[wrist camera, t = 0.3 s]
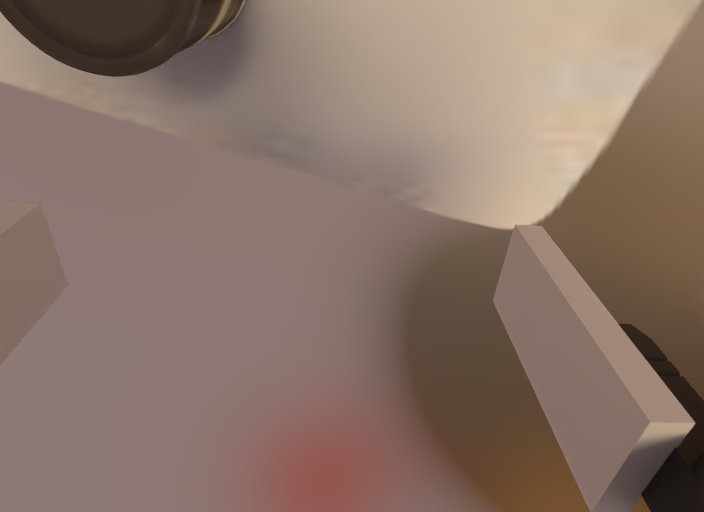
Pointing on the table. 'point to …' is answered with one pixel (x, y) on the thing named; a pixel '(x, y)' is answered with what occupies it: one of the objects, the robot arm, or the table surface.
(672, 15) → the table surface
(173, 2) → the coffee can
